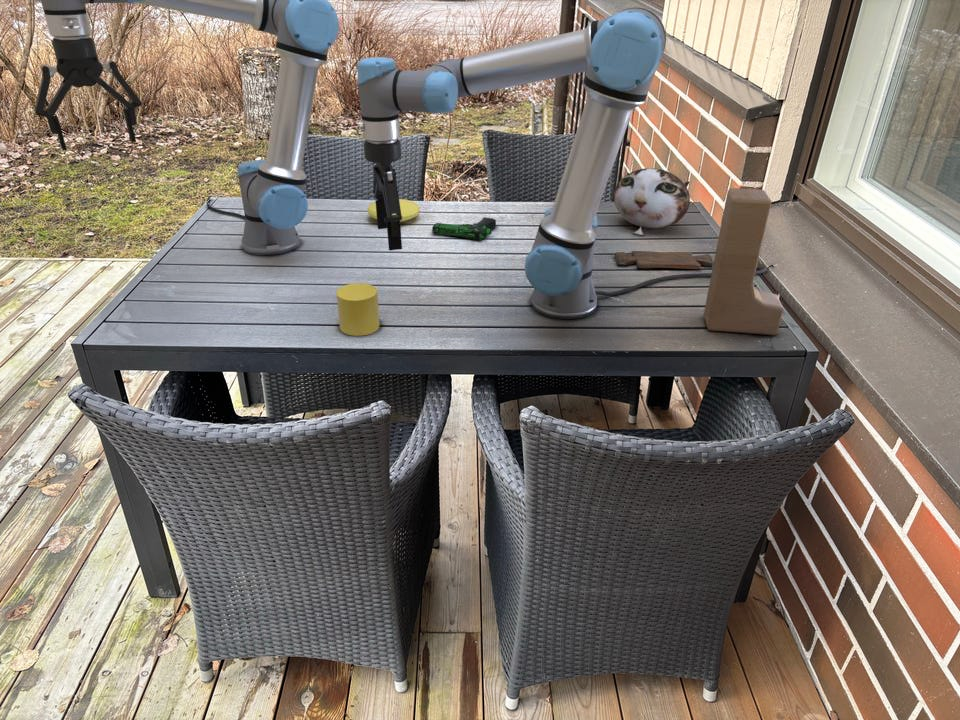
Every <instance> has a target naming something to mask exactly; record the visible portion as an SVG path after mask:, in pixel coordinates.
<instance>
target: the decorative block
mask: <svg viewBox="0 0 960 720" xmlns="http://www.w3.org/2000/svg"><path fill="white" fill-rule="evenodd" d="M771 207H772V200H771V199H770V196H769V195H768V194H767V192H766V191H765V190H764V189H755V188H753V189H752V188H737V187H736V188H735V187H731V188H728V190H727V193H726V198H725V203H724V207H723V213H722V218H721V224H720V227H719V228H720V229H719V234H718V239H717V244H716V249H715V254H714V259H713V265H712V269H711V273H712V274H711V276H710V280H709V285H708V289H707V295H706V301H705V304H704V305H705V306H704V310H703V317H704V318H703V319H704V321H705V324H706V328H707V330H708V331H715V332H727V333H728V332H729V333H743V334H753V335H754V334H756V335H766V336H767V335H768V336H777V335H778V334H779V333H778V332H779V329H780V325H781V322H782V317H783V313H784V310H785V309H784V306H783V304H782V302H781V300H780V297H779V295H778V294H776V293H772V292H767V291H763V290H758V289H757V288H756V287H755V285H754V280H755V276H756V275H755V272H756V271H757V267H758V263H759V259H760V254H761V250H762V246H763V241H764V237H765V233H766V228H767V225H768V220H769V216H770V210H771Z"/></svg>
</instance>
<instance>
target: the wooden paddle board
mask: <svg viewBox="0 0 960 720" xmlns="http://www.w3.org/2000/svg"><path fill="white" fill-rule="evenodd" d="M614 256H615V258H614V259H615V261H616V264H617V265H618V266H624V267H625V266H630V265H634V264H636V267H637V269H653V268H654V269H656V268H657V269H659V268H660V269H679V270H681V269H684V270H699V269H701V268H702V266H704V267H713V264H714V260H713V259H712V255H711V254H709V253H708V254H705V253H704V254H700V255H693V252H692V251H650V250H649V251H647V250H631V253H627V252H624V251H617V252H615V253H614Z"/></svg>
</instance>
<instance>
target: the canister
mask: <svg viewBox="0 0 960 720" xmlns="http://www.w3.org/2000/svg"><path fill="white" fill-rule="evenodd" d="M335 293H336V304H337V312H338V313H337V314H338V321H339V322H338V323H339V330H340V331H341V333H343V334H345V335H348V336H351V337H352V336H353V337H362V336H367V335H371V334H374V333H376V332H377V331H379V328H380V327H381V326H380V311H379V297H378V296H379V294H378V288H377V287H376V286H374V285H373V284H369V283H365V282H364V283H363V282H362V283H361V282H357V283H348V284H345V285H342V286H341V287H339V288H338V289H337V290H336V291H335Z"/></svg>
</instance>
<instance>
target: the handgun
mask: <svg viewBox="0 0 960 720" xmlns="http://www.w3.org/2000/svg"><path fill="white" fill-rule="evenodd" d="M496 226H497V220H496V219H495V218H493V217H482V219H481V220H479V221H478V222H474V223H473V224H468V223H466V224H465V223H463V224H458V225H457V224H449V223H448V224H447V223H442V222H436V223H434V224H433V225H432V227H431V232H432V234H435V235H436V234H437V235H443V236H452V237H458V238H459V237H461V238H464V239H469V240H473V241H482V240H483V239H485V238H486V237H487V236H491V234H492V230H493V229H495V228H496Z"/></svg>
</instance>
